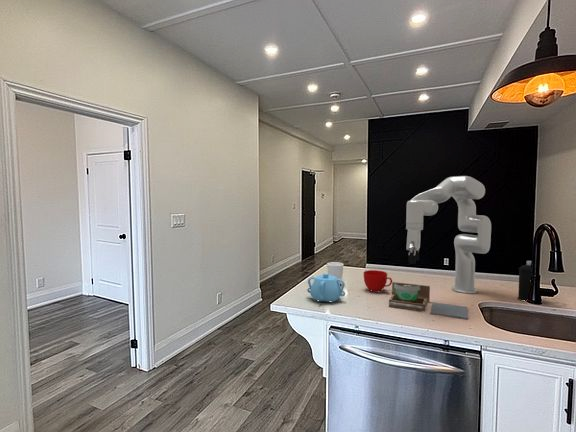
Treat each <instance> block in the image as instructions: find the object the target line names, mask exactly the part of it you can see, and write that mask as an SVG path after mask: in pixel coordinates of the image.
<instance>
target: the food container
mask: <svg viewBox="0 0 576 432" xmlns="http://www.w3.org/2000/svg"><path fill="white" fill-rule="evenodd" d="M417 285H418V286H411V285H397V284H394V288H395V291H396V300H397V301H404V302H411V303H417V298H418V290H420V286H419V285H420V284H417Z"/></svg>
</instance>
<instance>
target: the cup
mask: <svg viewBox="0 0 576 432" xmlns="http://www.w3.org/2000/svg"><path fill="white" fill-rule="evenodd" d="M326 268H327V273H328V274H329V275H331V276H335V277H336V278H337V279H341V280H343V273H344V263H343V262H338V261H335V262H334V261H332V262H327V263H326ZM341 283H342V282H340V281H339V284H341ZM341 285H342V284H341Z"/></svg>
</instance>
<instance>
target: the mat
mask: <svg viewBox="0 0 576 432" xmlns="http://www.w3.org/2000/svg"><path fill="white" fill-rule="evenodd" d="M468 312H469V311H468V306H465V305H457V304H450V303H444V302H443V303H442V302H435V301H433V302H432V303H431V307H430V312H429V314H430V315H433V316H440V317H447V318H453V319H459V320H467V321H468V320H469V313H468Z"/></svg>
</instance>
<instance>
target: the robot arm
mask: <svg viewBox="0 0 576 432" xmlns="http://www.w3.org/2000/svg"><path fill="white" fill-rule="evenodd" d="M485 194H486V188H485V185H484V184H483V183H482V182H480V181H479V180H477V179H475V178H474V177H472V176H468V175H458V176H457V175H456V176H455V175H454V176H449V177H446V178H445V179H444V180H442V181H441V182H440V183H439V184H438V185H436V187H433V188H430V189H428V190H426V191H423V192H421V193H418V194H417V195H415V196H413V198H411V199H410V200H407V202H406V219H405V220H406V221H405V225H406V226H405V230H407V236H406V251H408V261H407V262H408V265H416V263H417V262H418V261H419V260H420V248H421V231H423V230H424V216H429V217H431V216H434V215H436V214H437V212H438V210H439V205H438V204H441V203H444V202H446V201H448V200H449V199H450V198H451V197H452V198H453V199H454V200H455V202H456V203H457V207H458V208H457V209H458V213H457V228H458V229H459V231H461V232H464V233H461V234H460V233H459V234H457V235H456V236H455V237H454V238H453V239H454V241H453V244H454V245H453V246H454V250H455V268H454V269H455V273H454V274H455V278H454V279H455V280H454V285H452V286H451V289H452V290H453V291H454V292H457V293H461V294H476V293H478V291H479V290H478V288H476V287H475V283H476V282H475V279H476V278H475V276H476V259H475V256H474V253H475V254H483V255H485V254H487V253H489V251H490V249H491V241H492V239H491V238H492V237H491V235H492V222H491V220H490V218H489V217H488V216H486V215H479V214H477V206H476V203H475V201H474V200H480V199H482V198H484V196H485ZM465 232H466V233H465ZM467 233H468V234H467ZM469 233H475V234H476V233H477V235H474V234H469Z"/></svg>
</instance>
